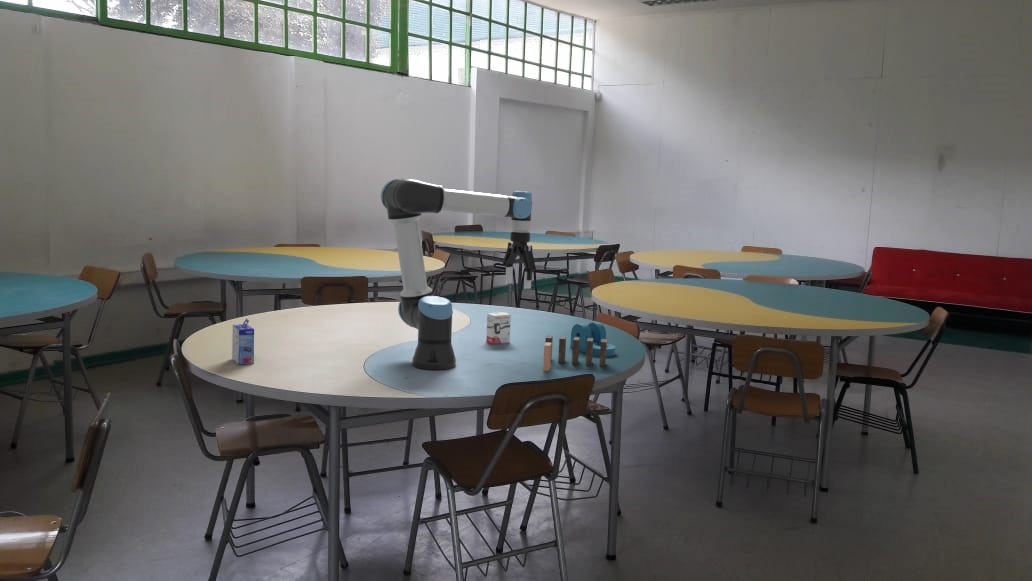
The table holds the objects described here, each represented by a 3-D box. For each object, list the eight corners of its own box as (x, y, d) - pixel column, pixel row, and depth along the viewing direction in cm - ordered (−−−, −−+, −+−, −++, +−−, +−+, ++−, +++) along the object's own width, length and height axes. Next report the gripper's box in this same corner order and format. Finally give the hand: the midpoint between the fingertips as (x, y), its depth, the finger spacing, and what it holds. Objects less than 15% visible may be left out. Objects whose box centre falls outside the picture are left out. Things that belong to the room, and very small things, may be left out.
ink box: (492, 344, 300) (493, 315, 298) (485, 341, 304) (486, 313, 302) (510, 342, 304) (511, 313, 303) (503, 340, 308) (504, 311, 307)
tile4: (578, 361, 278) (579, 337, 276) (577, 364, 273) (578, 340, 272) (573, 360, 278) (574, 336, 277) (571, 364, 273) (573, 339, 272)
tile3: (564, 360, 279) (566, 336, 277) (563, 363, 274) (564, 339, 272) (559, 359, 279) (560, 335, 278) (558, 362, 274) (559, 338, 273)
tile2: (551, 359, 279) (552, 335, 278) (549, 362, 274) (551, 338, 273) (546, 358, 280) (547, 335, 278) (544, 361, 275) (545, 337, 273)
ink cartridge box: (255, 363, 256) (254, 321, 254) (238, 365, 253) (237, 323, 251) (248, 357, 264) (247, 316, 262) (231, 358, 261) (231, 317, 259)
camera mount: (570, 348, 299) (571, 322, 298) (590, 345, 305) (592, 320, 304) (599, 358, 285) (601, 330, 283) (620, 355, 291) (622, 328, 289)
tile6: (605, 363, 276) (607, 339, 275) (605, 366, 271) (606, 342, 270) (600, 362, 277) (601, 338, 275) (599, 366, 272) (600, 341, 270)
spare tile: (550, 367, 267) (551, 342, 265) (548, 371, 262) (550, 345, 261) (544, 367, 267) (546, 342, 266) (543, 370, 262) (544, 345, 261)
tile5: (592, 362, 277) (593, 338, 276) (591, 365, 272) (592, 341, 271) (586, 361, 277) (587, 337, 276) (585, 365, 272) (586, 340, 271)
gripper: (546, 234, 281) (543, 290, 284) (511, 228, 302) (509, 281, 305) (530, 234, 277) (527, 291, 280) (495, 228, 298) (493, 281, 301)
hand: (517, 286), depth 293 cm, fingers open, 13 cm apart
